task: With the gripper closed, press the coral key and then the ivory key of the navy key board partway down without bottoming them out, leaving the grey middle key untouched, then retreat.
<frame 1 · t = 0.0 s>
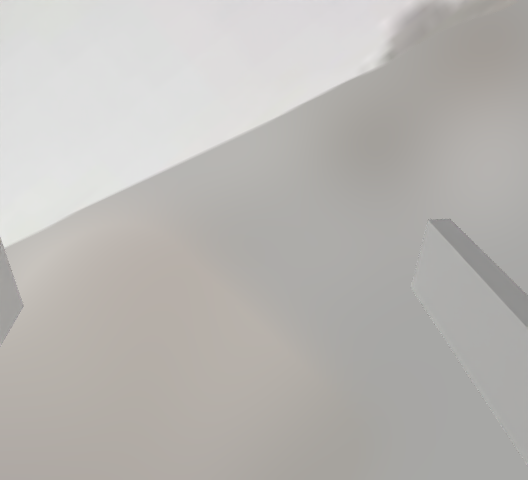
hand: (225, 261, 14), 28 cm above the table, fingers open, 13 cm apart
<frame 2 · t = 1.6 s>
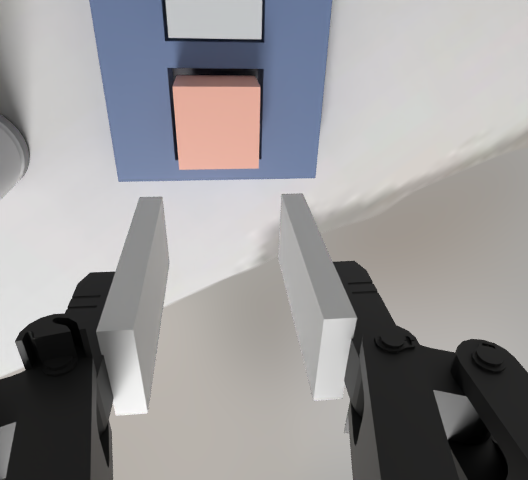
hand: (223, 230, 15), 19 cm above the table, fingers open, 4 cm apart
key coral: (217, 121, 27), point 5 cm above the table, slide at 0.0 cm
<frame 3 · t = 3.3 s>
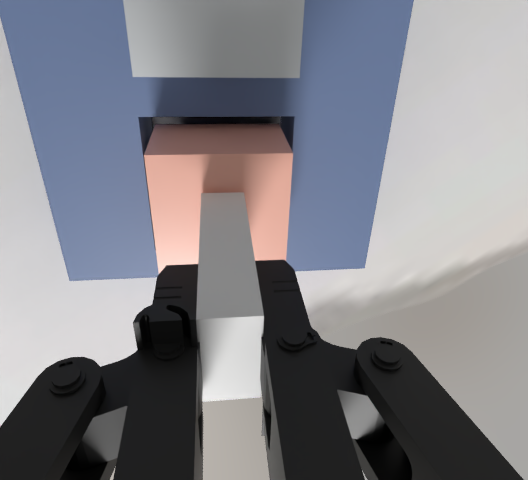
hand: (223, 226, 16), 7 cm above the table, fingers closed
key coral: (220, 198, 17), point 5 cm above the table, slide at 0.2 cm, touching gripper
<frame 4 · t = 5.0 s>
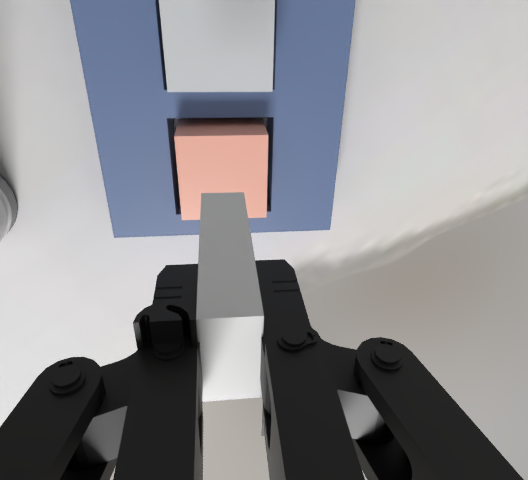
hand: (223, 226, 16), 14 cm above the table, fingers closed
key coral: (222, 168, 26), point 3 cm above the table, slide at 1.3 cm
key grey: (218, 30, 21), point 5 cm above the table, slide at 0.0 cm
key board: (217, 23, 25), on the table
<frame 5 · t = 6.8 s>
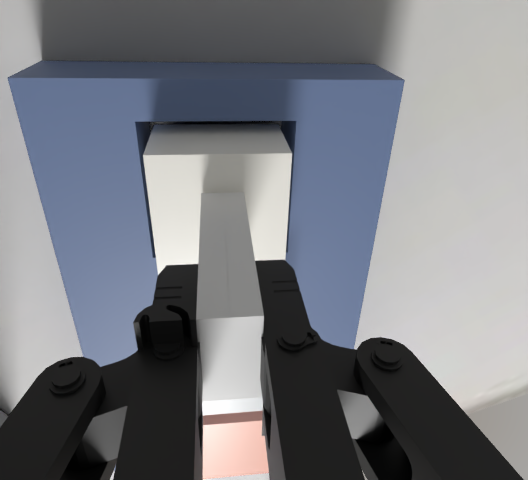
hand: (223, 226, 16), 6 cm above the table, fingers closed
key coral: (226, 423, 25), point 3 cm above the table, slide at 1.3 cm
key grey: (224, 348, 20), point 5 cm above the table, slide at 0.0 cm
key ivory: (219, 198, 17), point 4 cm above the table, slide at 0.8 cm, touching gripper
key board: (221, 287, 24), on the table
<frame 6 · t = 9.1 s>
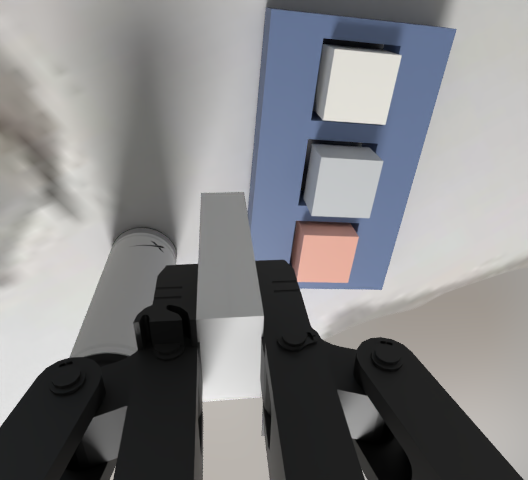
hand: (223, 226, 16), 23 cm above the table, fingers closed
key coral: (322, 250, 40), point 3 cm above the table, slide at 1.3 cm
key grey: (340, 180, 36), point 5 cm above the table, slide at 0.0 cm
key ivory: (354, 84, 33), point 3 cm above the table, slide at 1.3 cm
travel mug: (144, 251, 43), on the table
key board: (327, 161, 40), on the table
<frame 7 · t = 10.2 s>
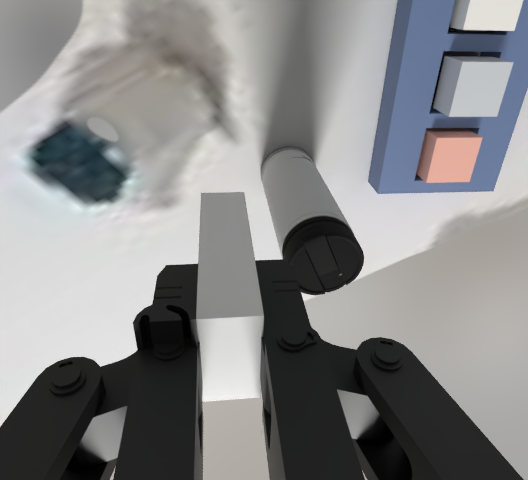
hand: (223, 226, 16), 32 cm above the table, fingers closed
key coral: (446, 155, 47), point 3 cm above the table, slide at 1.3 cm
key grey: (470, 86, 42), point 5 cm above the table, slide at 0.0 cm
travel mug: (286, 170, 50), on the table
key board: (447, 77, 46), on the table
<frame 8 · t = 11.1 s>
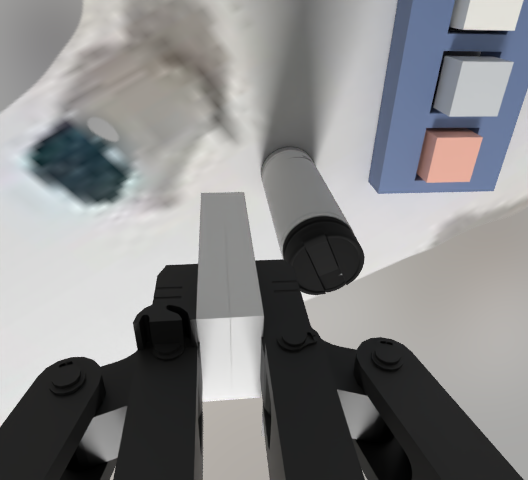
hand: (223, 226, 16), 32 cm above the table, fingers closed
key coral: (446, 154, 47), point 3 cm above the table, slide at 1.3 cm
key grey: (471, 86, 42), point 5 cm above the table, slide at 0.0 cm
travel mug: (286, 170, 50), on the table
key board: (448, 76, 46), on the table
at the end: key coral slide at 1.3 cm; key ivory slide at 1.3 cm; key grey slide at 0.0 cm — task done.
